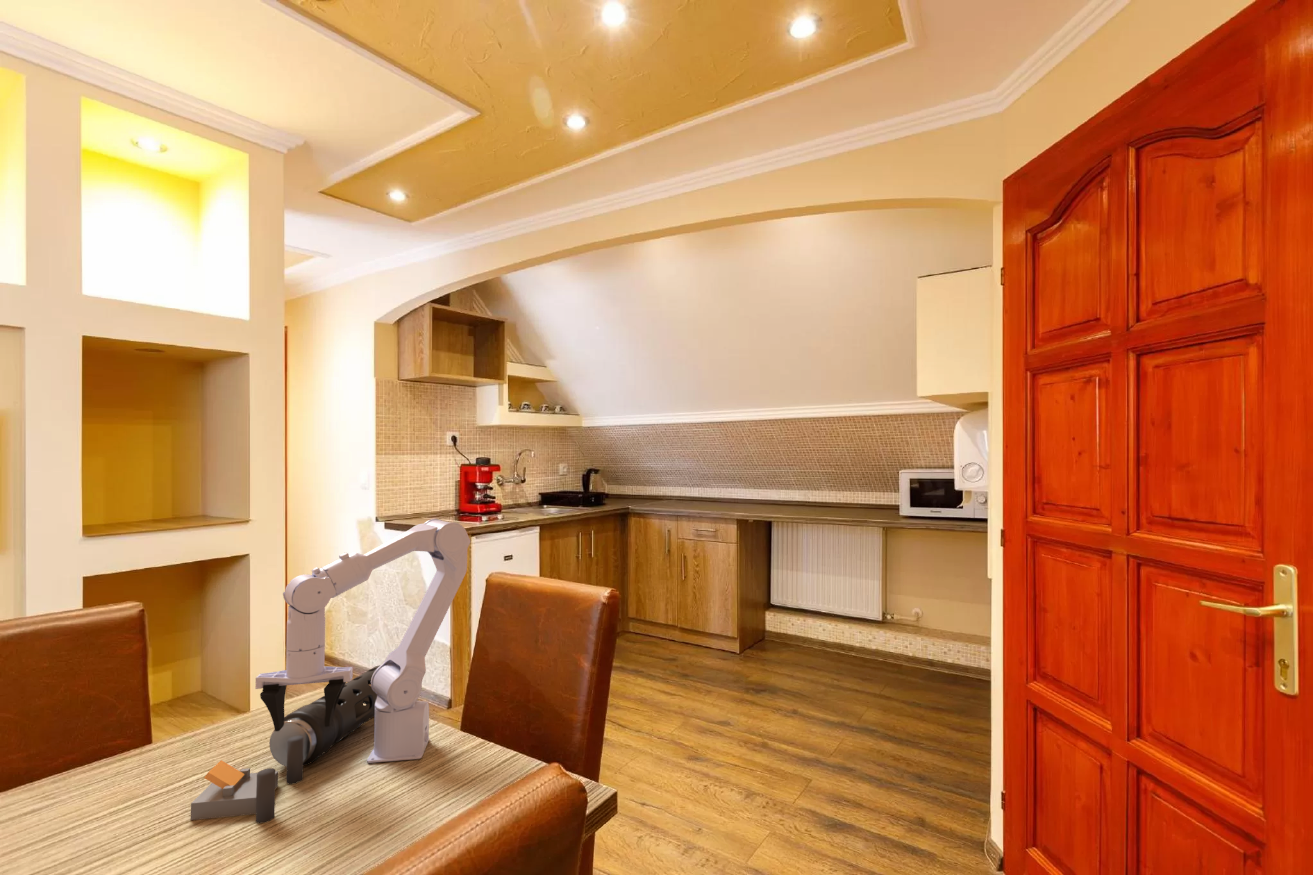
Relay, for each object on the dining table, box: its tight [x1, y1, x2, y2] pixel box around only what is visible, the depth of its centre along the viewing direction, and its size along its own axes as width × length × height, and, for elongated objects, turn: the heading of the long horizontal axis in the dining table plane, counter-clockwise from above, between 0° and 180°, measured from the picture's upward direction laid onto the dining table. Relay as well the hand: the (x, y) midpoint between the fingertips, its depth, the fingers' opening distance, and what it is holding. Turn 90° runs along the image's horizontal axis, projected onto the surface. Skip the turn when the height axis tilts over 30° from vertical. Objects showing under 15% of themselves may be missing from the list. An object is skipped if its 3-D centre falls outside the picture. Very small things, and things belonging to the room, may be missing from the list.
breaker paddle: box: [203, 759, 245, 789], centre depth 96 cm, size 1×4×4 cm
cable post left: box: [255, 767, 276, 824], centre depth 92 cm, size 2×2×7 cm
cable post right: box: [285, 736, 304, 785], centre depth 103 cm, size 2×2×7 cm
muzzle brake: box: [269, 664, 381, 768], centre depth 120 cm, size 10×28×10 cm
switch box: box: [190, 767, 279, 821], centre depth 97 cm, size 9×8×4 cm
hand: (304, 726), depth 103 cm, fingers open, 7 cm apart
